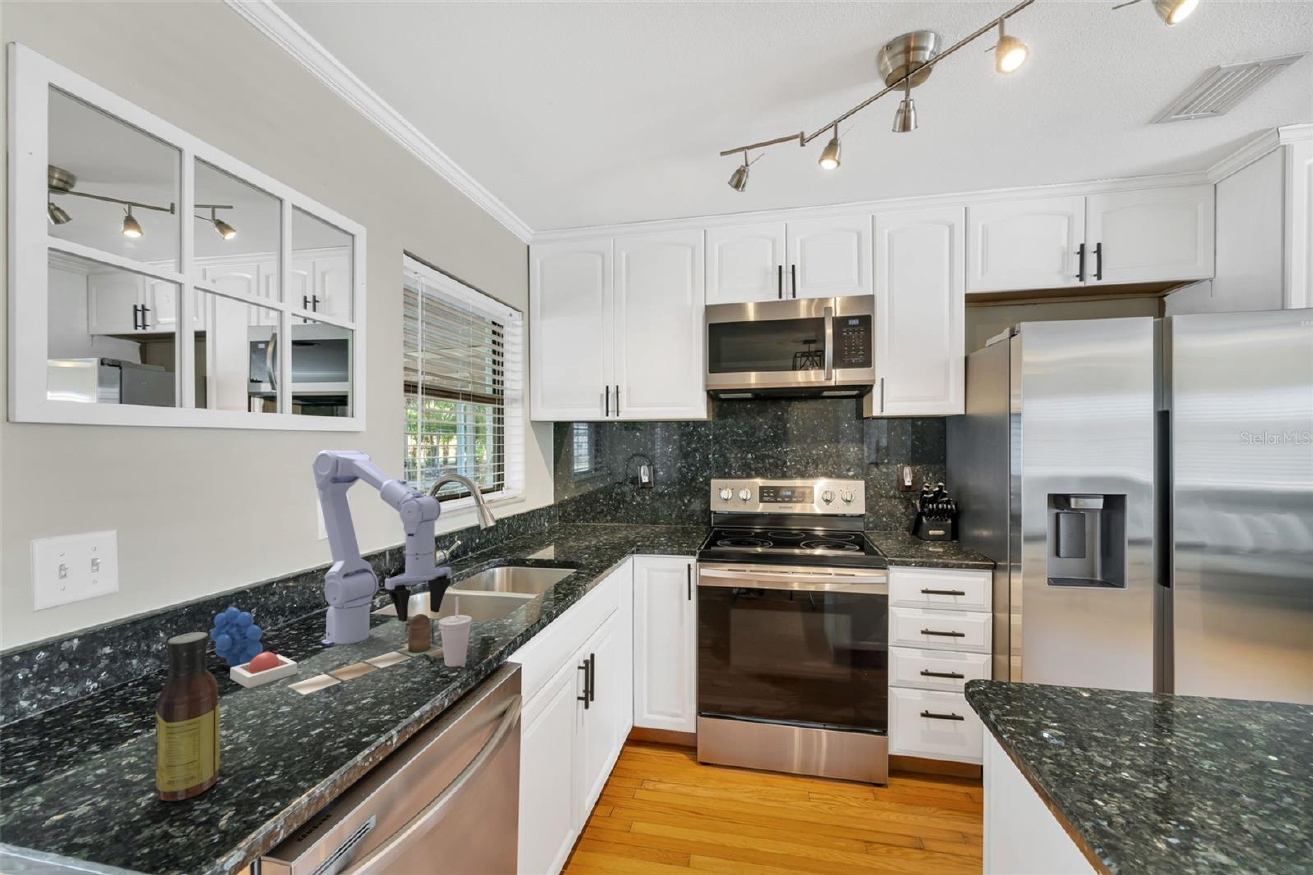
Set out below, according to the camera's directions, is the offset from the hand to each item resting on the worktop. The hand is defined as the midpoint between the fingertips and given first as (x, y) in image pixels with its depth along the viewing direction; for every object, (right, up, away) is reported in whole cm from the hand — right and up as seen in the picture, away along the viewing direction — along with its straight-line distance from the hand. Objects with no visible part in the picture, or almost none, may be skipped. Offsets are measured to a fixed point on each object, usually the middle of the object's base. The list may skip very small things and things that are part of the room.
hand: (419, 616), depth 118 cm
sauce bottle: (-9, -7, -47) cm, 49 cm away
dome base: (-23, -8, -14) cm, 28 cm away
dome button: (-23, -7, -14) cm, 28 cm away
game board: (-6, -8, -9) cm, 13 cm away
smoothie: (+11, -8, -8) cm, 15 cm away
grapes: (-34, -8, -8) cm, 36 cm away
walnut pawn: (0, -7, 0) cm, 7 cm away
